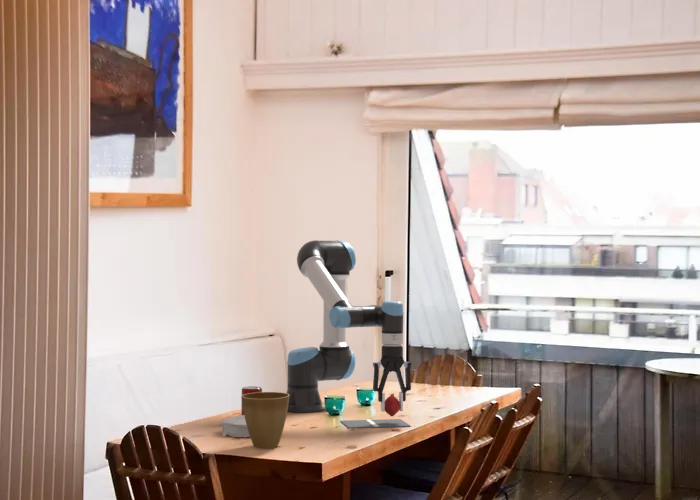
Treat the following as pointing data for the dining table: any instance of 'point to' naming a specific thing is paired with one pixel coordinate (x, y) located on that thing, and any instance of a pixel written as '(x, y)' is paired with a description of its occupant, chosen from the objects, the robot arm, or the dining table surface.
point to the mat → (375, 423)
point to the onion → (392, 405)
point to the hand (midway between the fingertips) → (391, 410)
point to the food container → (235, 427)
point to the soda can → (249, 390)
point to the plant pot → (265, 417)
